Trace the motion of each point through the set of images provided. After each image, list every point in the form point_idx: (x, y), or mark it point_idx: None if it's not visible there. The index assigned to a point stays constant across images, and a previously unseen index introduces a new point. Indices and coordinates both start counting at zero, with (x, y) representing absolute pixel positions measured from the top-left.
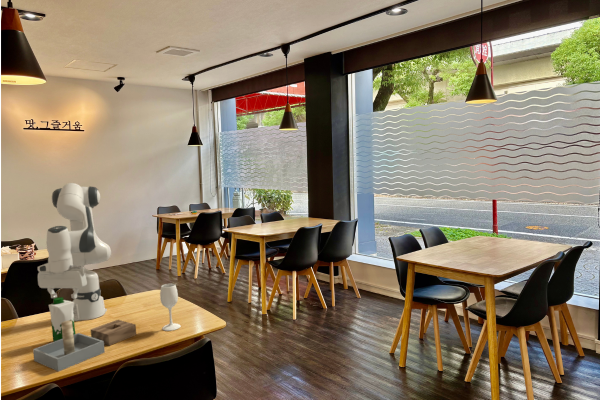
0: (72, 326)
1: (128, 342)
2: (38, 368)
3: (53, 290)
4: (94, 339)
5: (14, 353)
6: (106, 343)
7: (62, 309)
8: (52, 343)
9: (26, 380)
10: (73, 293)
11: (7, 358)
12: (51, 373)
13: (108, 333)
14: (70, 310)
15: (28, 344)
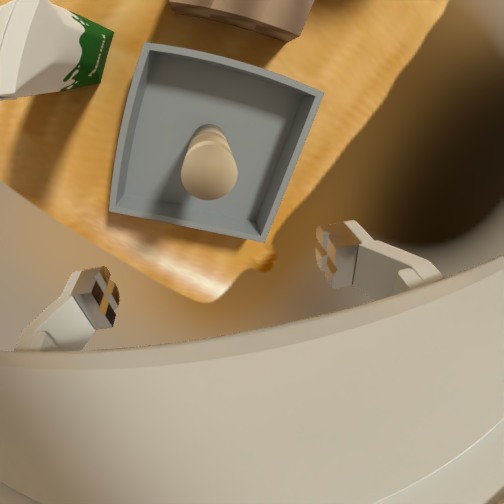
0: (229, 150)
1: (335, 19)
2: None
3: (50, 319)
4: (274, 80)
5: (26, 183)
6: (272, 36)
7: (33, 67)
8: (123, 150)
9: (213, 274)
10: (367, 293)
11: (41, 209)
12: None
13: (290, 23)
14: (57, 25)
15: (6, 129)
